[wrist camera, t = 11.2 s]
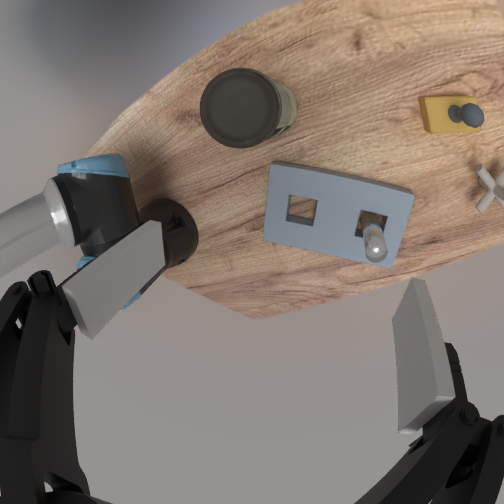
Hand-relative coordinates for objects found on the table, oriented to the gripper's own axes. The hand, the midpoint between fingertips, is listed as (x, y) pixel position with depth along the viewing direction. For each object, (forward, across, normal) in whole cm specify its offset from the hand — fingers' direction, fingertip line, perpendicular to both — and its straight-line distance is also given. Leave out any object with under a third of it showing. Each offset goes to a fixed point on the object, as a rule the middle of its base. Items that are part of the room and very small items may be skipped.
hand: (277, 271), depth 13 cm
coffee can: (+35, -10, +7) cm, 37 cm away
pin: (+35, +10, -9) cm, 37 cm away
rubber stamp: (+35, +20, +13) cm, 42 cm away
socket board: (+35, +4, -9) cm, 36 cm away
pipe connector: (+35, +30, +4) cm, 46 cm away
